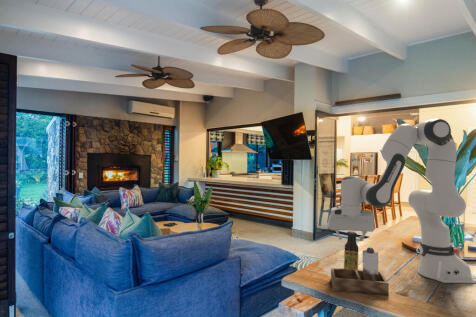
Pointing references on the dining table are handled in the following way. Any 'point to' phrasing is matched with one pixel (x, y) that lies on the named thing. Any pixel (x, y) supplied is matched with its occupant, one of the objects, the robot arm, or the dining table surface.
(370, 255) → the pepper mill
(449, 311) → the dining table surface
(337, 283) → the condiment caddy
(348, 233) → the sauce bottle
